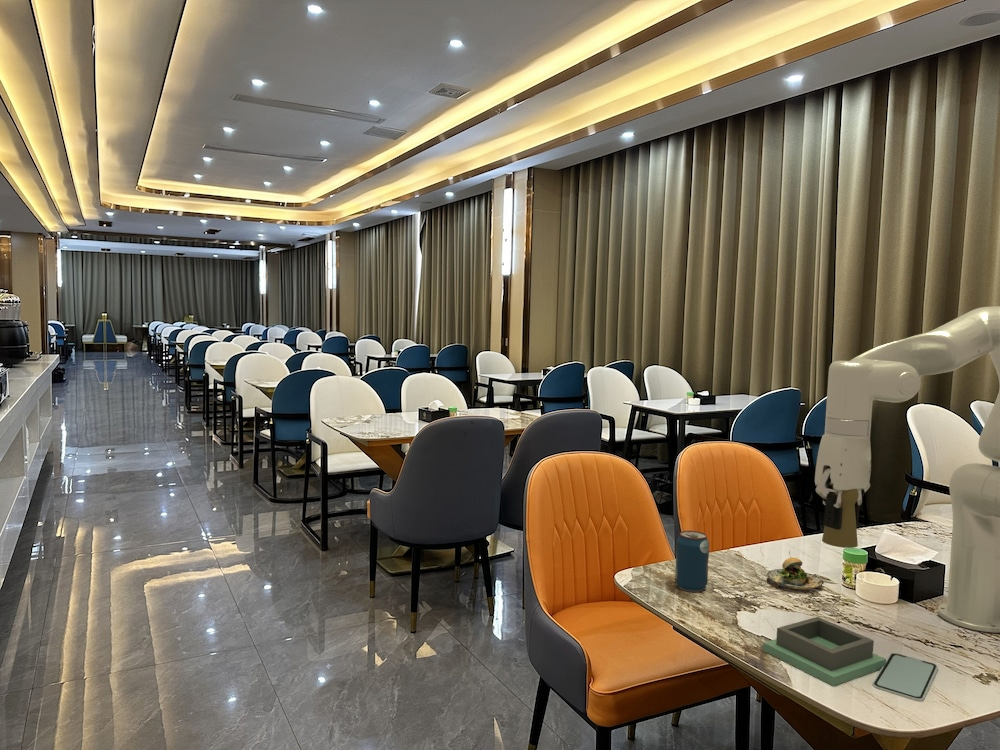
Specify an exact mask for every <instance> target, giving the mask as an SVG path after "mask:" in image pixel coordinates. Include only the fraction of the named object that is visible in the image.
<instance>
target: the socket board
mask: <svg viewBox="0 0 1000 750" xmlns="http://www.w3.org/2000/svg"><path fill="white" fill-rule="evenodd" d="M874 641H875V640H874V639H872V638H870V637H867V636H864V635H862V634H859V633H857V632H855V631H853V630H849V629H848V628H845V627H843V626H841V625H839V624H836V623H833V622H831V621H830V620H829V621H828V620H825V619H823V618H821V617H818V616H816V617H812V618H808V619H805V620H801V621H798V622H794V623H789V624H786V625H783V626H780V627H777V629H776V638H775V639H771V640H768V641H765V642H763V647H762V648H763V649H762V651H763V652H764V653H766V654H769V655H770V656H773V657H775V658H777V659H778V660H780V661H782V662H785V663H786V664H788V665H790V666H793V667H795V668H797V669H798V670H800V671H803V672H805V673H807V674H808V675H810V676H813V677H814V678H816V679H818V680H820V681H822V682H824V683H826V684H828V685H830V686H832V687H835V686H838V685H841V684H843V683H847V682H850V681H852V680H854V679H858V678H860V677H864V676H866V675H869V674H871V673H872V674H873V673H875V672H877V671H880V670H881V668H882V667H883V666H884V665H886V660H887V659H886V658H885V657H882V656H880V655H878V654H875V653H874Z"/></svg>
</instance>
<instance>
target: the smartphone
mask: <svg viewBox="0 0 1000 750" xmlns="http://www.w3.org/2000/svg"><path fill="white" fill-rule="evenodd" d="M938 668H939V666H938V664H936V663H934V662H930V661H926V660H924V659H920V658H916V657H912V656H908V655H904V654H902V653H901V654H900V653H896V652H892V653H889V655H888V656H887V659H886V665H884V666H883V667H882V668H881V669H880V670H879V672H878V673H877V675H876V676H875V678H874V680H873V681H872V687H874V688H875V689H878V690H880V691H884V692H887V693H889V694H892V695H895V696H896V695H897V696H899V697H903V698H906V699H908V700H913V701H915V702H924V700H925V698H926V696H927V695H928V692H929V689H930V688H931V686H932V683H933V682H934V681H935V680H934V679H935V678H936V675H937V673H938V670H939V669H938Z"/></svg>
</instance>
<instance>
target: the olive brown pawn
mask: <svg viewBox="0 0 1000 750" xmlns="http://www.w3.org/2000/svg"><path fill="white" fill-rule="evenodd" d="M831 489H833V486H832V487H831ZM830 493H831V494H832V495H833V496H834V498H835V495H836V493H833V492H830ZM858 497H859V493H858V490H857V489H851V490H847V491H843V494H842V499H841V504H840V508H842V523H841V529H839V530H837V529H833V528H830V527H827V526H825V525H824V527H823V533H822V539H821V542H823V544H826V545H829V546H832V547H837V548H843V549H845V548H846V549H853V548H857V547H858V546H859V544H858V533H857V532H858V530H857V527H856V515H855V503H856V502H857V500H858Z"/></svg>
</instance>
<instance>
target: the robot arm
mask: <svg viewBox="0 0 1000 750" xmlns="http://www.w3.org/2000/svg"><path fill="white" fill-rule="evenodd" d="M988 353H989V356H990V359H991V362H992V364H993V365H994V368H995V371H996V374H997V376H998V377H997V378H998V382H999V391H998V394H997V397H996V399H995V402H994V404H993V405H992V408H991V410H990V412H989V415H988V417H987V419H986V422H985V424H984V427H983V428H982V430H981V432H980V436H979V439H978V450H979V452H980V454H981V455H983V456H984V457H985V458H987V459H989V460H991V461H994V462H997V463H1000V305H997V306H995V305H994V306H983V307H977V308H974V309H972V310H970V311H968V312H966V313H964V314H962V315H959V316H958V317H956V318H954V319H952V320H950V321H948V322H946V323H945V324H942V325H940V326H938V327H936V328H935V329H932V330H929V331H927V332H924V333H920V334H915V335H913V336H910V337H909V336H908V337H906V338H903V339H899V340H895V341H892V342H888V343H885V344H882V345H879V346H876V347H874V348H871V349H869V350H867V351H865V352H863V353H861V354H859V355H857V356H856V357H854V358H852V359H849V360H835V361H833V362H831V364H830V365H829V367H828V377H827V391H826V393H827V394H826V407H825V408H826V409H825V423H824V424H825V425H824V434H822V436H821V439H820V443H819V447H818V452H817V457H816V465H815V472H814V473H815V474H814V483H815V486H816V488H815V492H816V494H818V495H819V496H820V498H821V499H822V504H823V505H824V516H823V524H824V525H823V526H824V527H825V526H827V527H830V528H833V529H837V530H839V529H841V523H842V508H840V504H841V499H842V494H843V491H847V490H851V489H857V490H858V493H859V497H858V500H857V502H856V503H855V515H856V528H857V527H859V517H860V516H859V515H860V506H861V505H862V503H863V497H864V496H865V493H866V492H867V491H868V490H869V489H870V487H871V483H870V481H871V472H872V450H871V449H872V448H871V428H872V414H873V401H879V402H888V403H904V402H906V401H909V400H910V399H913V398H914V397H915V396H916V395H917V394H918V392H919V391H920V388H921V385H922V383H921V376H933V375H939V374H943V373H945V374H946V373H950V372H953V371H956V370H958V369H960V368H961V367H963V366H965V365H967V364H969V363H971V362H973V361H975V360H977V359H979V358H981V357H983V356H985V355H987V354H988ZM949 479H950V480H949V487H948V489H949V496H950V502H951V509H952V529H951V531H952V532H951V542H950V544H951V545H950V558H949V559H950V561H949V572H948V587H947V588H948V589H947V601H946V602H944V603H941V604H939V605H938V607H937V614H938V616H940V617H941V618H942V619H943V620H944V621H947V622H949V623H952V624H953V625H956V626H959V627H962V628H965V629H969V630H973V631H977V632H984V633H993V634H994V633H995V634H996V633H998V634H999V633H1000V466H997V465H991V464H986V463H979V462H978V463H977V462H976V463H966V464H963V465H961V466H959V467H957V468H956V469H955V470H954V471H953V472H952V474H951V476H950V478H949ZM832 486H833V489H831V487H832ZM830 492H833V493H836V495H835V498H834V496H833V495H832V494H831V493H830Z"/></svg>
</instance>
